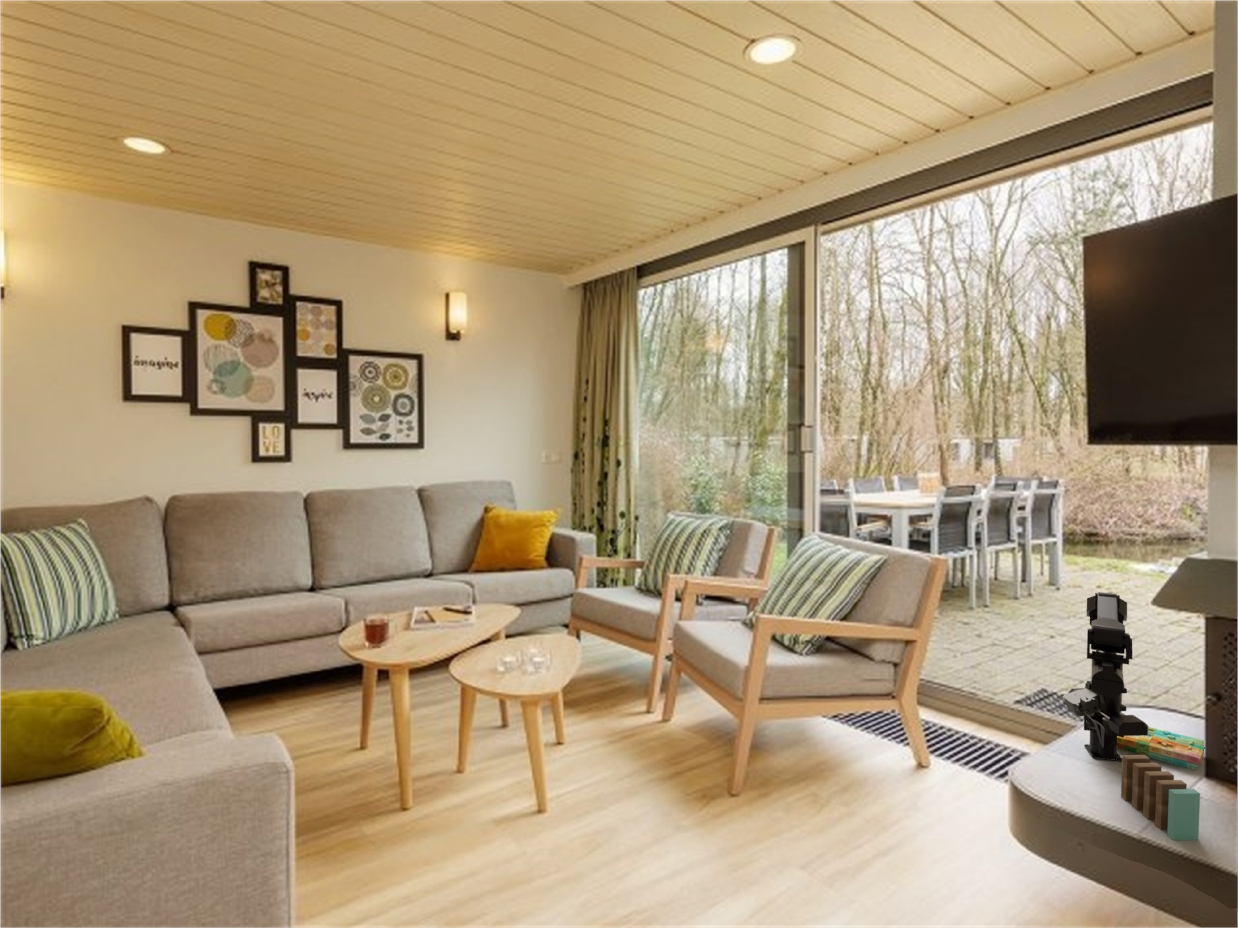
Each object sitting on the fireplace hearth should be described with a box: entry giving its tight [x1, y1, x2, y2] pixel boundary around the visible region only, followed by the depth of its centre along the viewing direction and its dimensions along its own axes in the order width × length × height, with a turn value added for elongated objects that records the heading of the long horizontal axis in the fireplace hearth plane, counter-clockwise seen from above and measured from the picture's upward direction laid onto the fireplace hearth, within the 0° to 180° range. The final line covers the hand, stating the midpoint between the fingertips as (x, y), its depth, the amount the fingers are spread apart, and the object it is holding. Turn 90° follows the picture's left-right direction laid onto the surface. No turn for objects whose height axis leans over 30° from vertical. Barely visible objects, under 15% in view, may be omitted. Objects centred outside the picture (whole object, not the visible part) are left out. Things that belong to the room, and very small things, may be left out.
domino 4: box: [1154, 779, 1188, 831], centre depth 146 cm, size 2×5×10 cm, turn 88°
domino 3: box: [1142, 770, 1175, 821], centre depth 149 cm, size 2×5×10 cm, turn 88°
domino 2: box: [1131, 762, 1162, 811], centre depth 153 cm, size 2×5×10 cm, turn 88°
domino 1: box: [1120, 754, 1151, 802], centre depth 156 cm, size 2×5×10 cm, turn 88°
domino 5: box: [1166, 788, 1201, 841], centre depth 142 cm, size 2×5×10 cm, turn 88°
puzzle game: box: [1117, 726, 1205, 771], centre depth 177 cm, size 12×5×20 cm
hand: (1104, 746), depth 157 cm, fingers closed
